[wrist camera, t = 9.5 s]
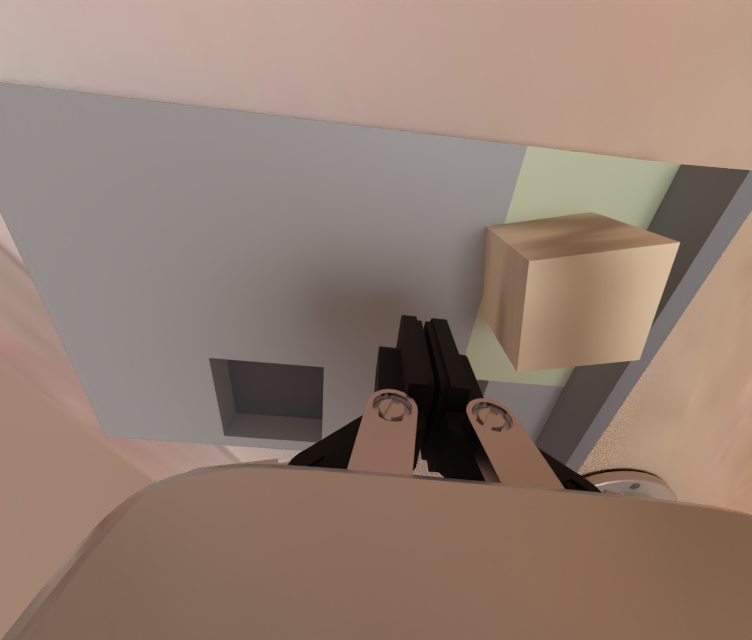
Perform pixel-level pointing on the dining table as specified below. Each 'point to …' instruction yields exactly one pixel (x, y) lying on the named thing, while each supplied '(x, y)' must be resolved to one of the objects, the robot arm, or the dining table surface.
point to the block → (573, 289)
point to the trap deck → (309, 260)
